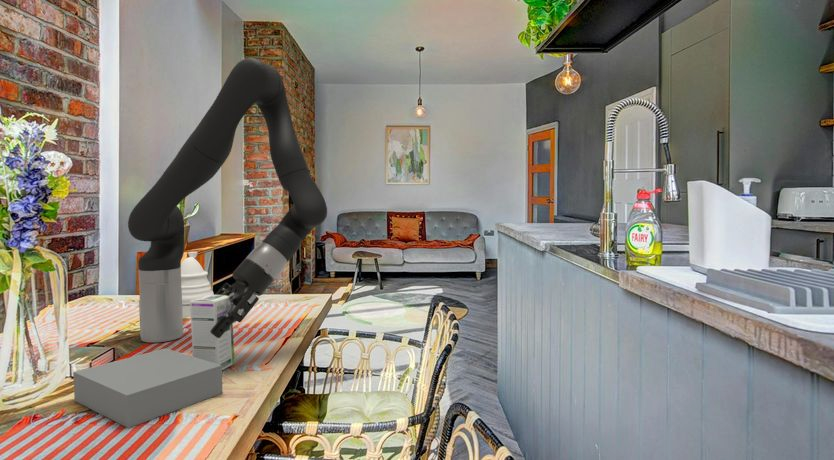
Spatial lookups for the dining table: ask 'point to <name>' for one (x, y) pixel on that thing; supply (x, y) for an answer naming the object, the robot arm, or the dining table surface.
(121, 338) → the dining table surface
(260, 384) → the dining table surface
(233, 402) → the dining table surface
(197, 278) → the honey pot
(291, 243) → the robot arm
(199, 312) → the syrup box
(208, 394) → the block
